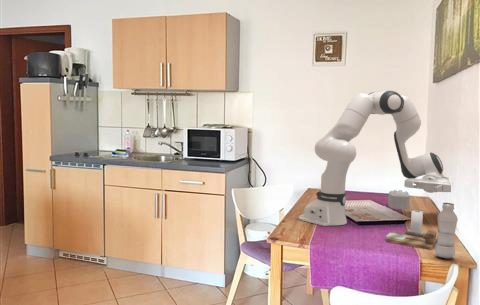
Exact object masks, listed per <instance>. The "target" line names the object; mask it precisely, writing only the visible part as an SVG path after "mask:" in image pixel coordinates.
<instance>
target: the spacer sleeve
mask: <svg viewBox="0 0 480 305" xmlns="http://www.w3.org/2000/svg"><path fill="white" fill-rule="evenodd" d="M423 215H424V211H421V210H411V215H410V216H411V217H410V230H409V231H411V232H417V233H422V234H423V232H422V230H423V221H424V220H423V219H424V218H423V217H424V216H423Z"/></svg>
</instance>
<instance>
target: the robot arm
mask: <svg viewBox="0 0 480 305" xmlns="http://www.w3.org/2000/svg"><path fill="white" fill-rule="evenodd" d="M371 114H372V115H380V116H381V115H382V116H383V115H391V116H392V118H393V121H394V123H395V126H396V130H395V131H394V133H393V140H394V144H395V149H396V152H397V157H398V160H399V164H400V171H401V174H402V176H403V177H404V178H405V179H404V182H403V183H404V184H403V185H404V186H403V187H404V188H409V189H418V190H423V191H424V192H426V193H430V194H431V193H432V194H433V193H452V192H451V183H450V181H449V178H450V177H445V175H443V174H444V173H443V172H444V165H443V161H442V160H441V158H440V157H439V155H437V154H436V153H433V152H428V153H425V154H422V155H419V156H418V155H417V156H415V157H412V158H410V157H409V156H408V153H407V152H408V151H407V148H406V142H407V141H408V140H409V139H410V138H411V137H413V136H414V135H416V133H417V132H419V130H420V127H421V125H422V120H421V118H420V114H419V112H418V111H417V108H416V107H415V105H414V104H413V102H412V100H411V99H410V98H409V97H408V95H403V94H399V92H397V91H396V90H395V91H394V90H379V91H373V92H370V93H368V94H367V93H364V92H360V93H357V94H355V96H354V97H353V98H352V99H351V101H350V102H348V104H347V106H346V108H345V109H344V111H343V113H342V114H341V116H340V118H339V119H338V120H337V122H336V123H335V124H334V125H333V127H332V128H330V130H329V131H328V133H326V134H325V135H324V136H323V137H322V138H321V139H319V140H317V141H316V143H315V145H314V153H315V154H316V156H317V157H318V158H320V159H321V160H323V161H326V162H327V163H326V167H325V169H324V171H323V173H322V174H321V176H320V177H321V180H320V189H319V191H318V192H316V193H315V196H316V199H314V200H312V201H311V202H309V203H308V204H306V206H305V208H304V210H303V213H302V214H300V215H298V220H299V221H303V222H307V223H310V224H311V223H312V224H315V225H319V226H322V227H329V226H343V225H346V224H347V223H348V221H347V216H346V202H347V195H346V194H347V193H346V182H347V181H346V180H347V179H346V178H347V174H348V171H349V168H350V166H351V164H352V163H353V161H354V160H355V159H356V156H357V149H356V147H355V145H354V144H353V143H351V141H352V140H353V139H354V138H356V137H357V136H358V135H359V134H360V132H361V131H362V129H363V127H364V126H365V125H366V123H367V121H368V119H369V118H370V116H371ZM419 177H421V178H419Z"/></svg>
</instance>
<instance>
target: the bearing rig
mask: <svg viewBox="0 0 480 305" xmlns="http://www.w3.org/2000/svg"><path fill="white" fill-rule="evenodd" d="M385 239H386V240H385V241H386V243H391V244H397V245H402V246H406V247H407V246H408V247H413V248H418V249H424V250H430V251H433V249H434V248H435V246H436V243H437V231H434V230H429V229H428V230H427V232H422V233H417V232H411V231H410V230H405V233H403V232H396V231H393V232H389V233H388V234H387V235H386V236H385Z"/></svg>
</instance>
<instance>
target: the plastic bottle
mask: <svg viewBox="0 0 480 305" xmlns="http://www.w3.org/2000/svg"><path fill="white" fill-rule="evenodd" d="M441 208H442V210H441V211H440V212H439V213H438V215H437V236H436V239H437V243H436V245H435V246H434V254H435V256H436V257H438V258H441V259H446V260H447V259H448V260H450V259H453V258H454V257H455V254H456V248H455V247H456V246H455V236H456V235H455V233H456V229H457V225H458V220H459V219H458V216H457V214H456V212H454V210H455V204H454V203H452V202H442V207H441Z"/></svg>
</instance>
